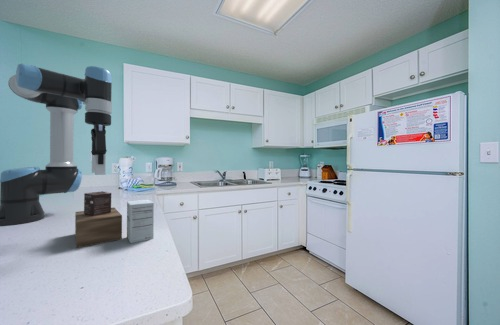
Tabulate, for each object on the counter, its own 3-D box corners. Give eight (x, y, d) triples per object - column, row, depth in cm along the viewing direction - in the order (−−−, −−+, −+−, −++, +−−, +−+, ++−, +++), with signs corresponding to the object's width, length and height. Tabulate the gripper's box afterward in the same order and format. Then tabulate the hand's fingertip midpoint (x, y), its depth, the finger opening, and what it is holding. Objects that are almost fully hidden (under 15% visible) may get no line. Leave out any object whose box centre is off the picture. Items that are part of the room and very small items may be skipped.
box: (83, 214, 73) (83, 193, 73) (102, 210, 78) (102, 191, 78) (92, 216, 70) (92, 194, 70) (111, 212, 75) (111, 192, 75)
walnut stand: (75, 233, 76) (75, 211, 76) (114, 227, 84) (114, 207, 84) (76, 247, 64) (76, 221, 64) (121, 238, 72) (121, 215, 72)
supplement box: (126, 237, 74) (126, 201, 74) (149, 232, 78) (149, 199, 78) (129, 243, 68) (129, 204, 68) (154, 238, 72) (154, 202, 72)
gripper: (83, 117, 81) (82, 172, 81) (87, 104, 62) (86, 176, 62) (106, 119, 86) (106, 171, 86) (117, 108, 67) (116, 175, 67)
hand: (98, 173), depth 74 cm, fingers open, 13 cm apart
